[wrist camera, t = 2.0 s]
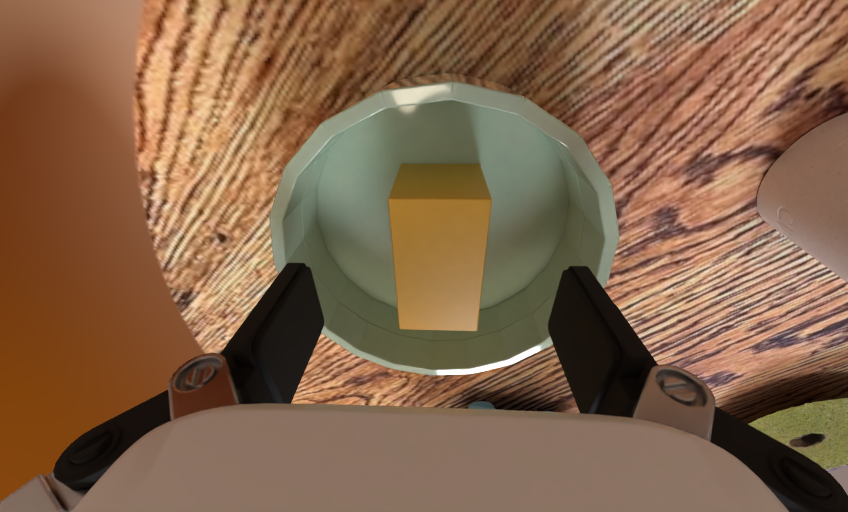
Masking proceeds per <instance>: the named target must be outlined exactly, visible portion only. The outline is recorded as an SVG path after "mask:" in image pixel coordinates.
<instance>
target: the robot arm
mask: <svg viewBox="0 0 848 512" xmlns="http://www.w3.org/2000/svg"><path fill="white" fill-rule="evenodd" d="M323 327H324V316H323V313H322V309H321V305H320V301H319V297H318V294H317V290H316V286H315V282H314V279H313V275H312V271H311V268H310V267H307V266H306V264H305V263H287V264H286V265H285V267H284V268H283V269H282V271H281V272H280V273H279V275H278V276H277V278H276V279H275V280H274V282H273V283H272V284H271V286H270V287H269V288H268V290H267V291H266V292H265V294H264V295H263V297H262V298H261V299H260V301H259V302H258V303H257V305H256V306H255V307H254V309H253V310H252V311H251V313H250V314H249V316H248V317H247V318H246V320H245V321H244V322H243V324H242V325H241V326H240V328H239V329H238V330H237V332H236V333H235V335H234V336H233V337H232V339H231V340H230V341H229V343H228V344H227V345H226V347H225V348H224V350H223V351H222V352H221V354H219V353H208V354H203V355H200V356H197V357H195V358H193V359H191V360H189V361H187V362H186V363H184V364H183V365H182V366H180V367H179V368H178V369H177V370H176V371H175V373H174V374H173V375H172V377H171V379H170V381H169V385H168V390H166V391H164V392H162V393H161V394H159V395H157V396H155V397H153V398H151V399H149V400H147V401H145V402H143V403H141V404H139V405H137V406H135V407H133V408H132V409H130V410H128V411H126V412H124V413H122V414H120V415H118V416H116V417H114V418H112V419H110V420H108V421H106V422H104V423H103V424H101V425H99V426H97V427H95V428H93V429H91V430H90V431H88V432H86V433H85V434H83V435H82V436H80V437H79V438H78V439H76V440H75V441H74V442H73V443H71V444H70V446H69V447H68V448H67V449H66V450H65V451H64V452H63V453H62V454H61V456H60V457H59V459H58V460H57V462H56V464H55V467H54V470H53V471H52V472H51V473H50V474H48V475H47V476H44V475H43V474H39V475H38V476H36V477H35V478H34V479H32V480H31V481H29V482H28V483H27V484H25V485H24V486H22V487H21V488H19V489H18V490H17V491H15V492H14V493H12V494H11V495H10V496H8V497H7V498H5V499H4V500H2V501H1V502H0V512H848V495H847V494H846V492H845V491H844V489H843V488H842V486H841V485H840V484H839V483H838V482H837V481H836V480H835V479H834V477H833V476H832V475H831V474H830V473H828V472H827V471H826V470H825V469H823V468H822V467H821V466H820V465H819V464H817V463H816V462H814V461H812V460H811V459H809V458H808V457H806V456H805V455H803V454H801V453H799V452H797V451H796V450H794V449H792V448H790V447H788V446H787V445H785V444H783V443H781V442H779V441H777V440H776V439H774V438H772V437H770V436H768V435H767V434H765V433H763V432H761V431H759V430H757V429H756V428H754V427H752V426H750V425H748V424H747V423H745V422H743V421H741V420H739V419H738V418H736V417H734V416H732V415H730V414H728V413H727V412H725V411H723V410H721V409H719V408H718V407H716V406H715V405H716V404H715V397H714V395H713V393H712V391H711V390H710V389H709V387H708V386H707V385H706V384H705V383H704V382H703V381H702V380H700V379H699V378H698V377H697V376H695V375H694V374H692V373H690V372H688V371H686V370H684V369H682V368H679V367H676V366H672V365H667V364H666V365H658V364H657V363H656V361H655V360H654V358H653V357H652V356H651V354H650V353H649V351H648V350H647V348H646V347H645V346H644V344H643V343H642V341H641V340H640V339H639V337H638V336H637V334H636V333H635V331H634V330H633V329H632V327H631V326H630V324H629V323H628V321H627V320H626V319H625V317H624V316H623V314H622V313H621V311H620V310H619V309H618V307H617V306H616V305H615V304H614V303H613V302H612V300H611V299H610V297H609V296H608V294H607V293H606V292H605V290H604V289H603V287H602V286H601V284H600V283H599V282H598V280H597V279H596V277H595V276H594V274H593V273H592V272H591V270H590V269H589V268H588V267H587V266H569V267H568V269H567V270H563V272H562V275H561V279H560V282H559V286H558V289H557V293H556V296H555V300H554V304H553V307H552V311H551V314H550V318H549V321H548V332H549V335H550V337H551V340H552V342H553V345H554V347H555V350H556V352H557V355H558V358H559V360H560V363H561V365H562V368H563V370H564V373H565V375H566V378H567V381H568V383H569V386H570V388H571V391H572V393H573V396H574V398H575V401H576V404H577V406H578V409H579V411H580V413H563V412H542V411H516V410H490V409H462V408H433V407H402V406H369V405H333V404H291V401H292V399H293V397H294V394H295V392H296V390H297V387H298V385H299V383H300V381H301V378H302V376H303V374H304V371H305V369H306V367H307V364H308V362H309V360H310V357H311V355H312V353H313V350H314V348H315V346H316V343H317V341H318V339H319V336H320V334H321V332H322V329H323Z"/></svg>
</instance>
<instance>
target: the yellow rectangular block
mask: <svg viewBox="0 0 848 512" xmlns="http://www.w3.org/2000/svg"><path fill="white" fill-rule="evenodd" d="M491 204H492V198H491V195H490V192H489V189H488V186H487V183H486V180H485V177H484V174H483V171H482V168H481V165H480V164H401V165H400V168H399V171H398V173H397V176H396V179H395V182H394V184H393V187H392V190H391V192H390V195H389V198H388V206H389V217H390V228H391V240H392V251H393V263H394V274H395V286H396V297H397V308H398V320H399V329H410V330H449V331H477V329H478V320H479V311H480V302H481V293H482V285H483V276H484V267H485V258H486V249H487V240H488V231H489V222H490V213H491Z"/></svg>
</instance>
